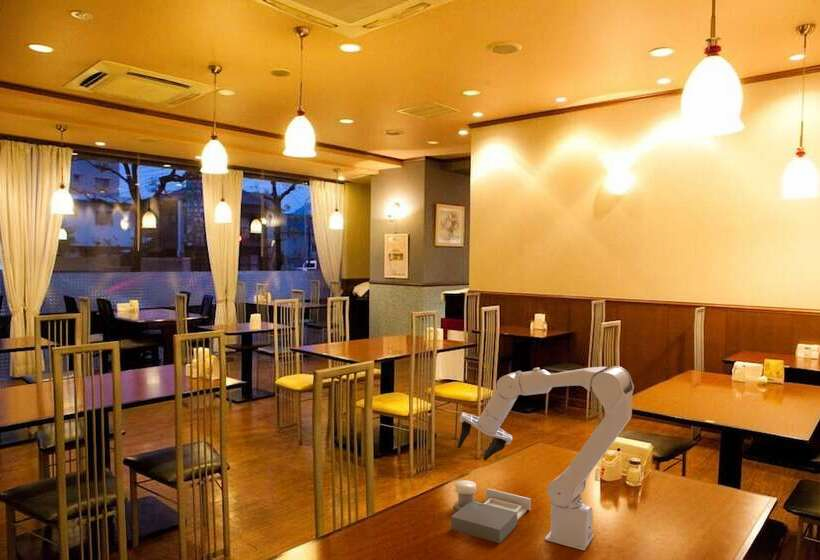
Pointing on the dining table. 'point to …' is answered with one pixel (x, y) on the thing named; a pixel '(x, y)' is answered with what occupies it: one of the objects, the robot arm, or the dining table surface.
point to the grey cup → (463, 500)
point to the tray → (508, 501)
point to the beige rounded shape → (465, 487)
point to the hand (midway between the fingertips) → (471, 452)
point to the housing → (484, 521)
